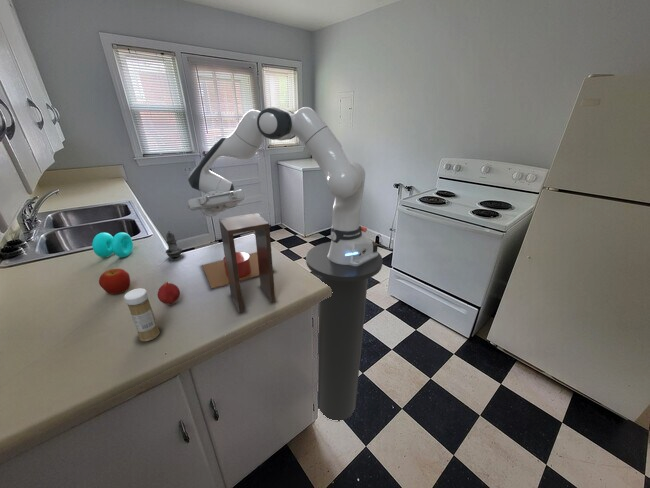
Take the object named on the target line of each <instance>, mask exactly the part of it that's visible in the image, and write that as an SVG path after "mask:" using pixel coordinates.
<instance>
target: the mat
mask: <svg viewBox="0 0 650 488" xmlns="http://www.w3.org/2000/svg"><path fill="white" fill-rule="evenodd" d="M248 254H249V253H248ZM249 257H250V265H251V272H250V274H249V275H247V276H245V277H242V278H239V280H240V282H243V281H248V280H250V279H254V278H258V277H260V276H259V266H258V256H257V252H254V253H253V252H252V253H250V254H249ZM201 266H202V270H203V271H204V273H205V276H206V279H207V281H208V283H209V286H210V288H211V290H214V289H217V288H221V287H224V286H229V280H228V277H227V276H226V274H225V268H224V262H223V260H219V261H215V262H209V263H206V264H202V265H201ZM274 272H275V270H273V273H274Z"/></svg>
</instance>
